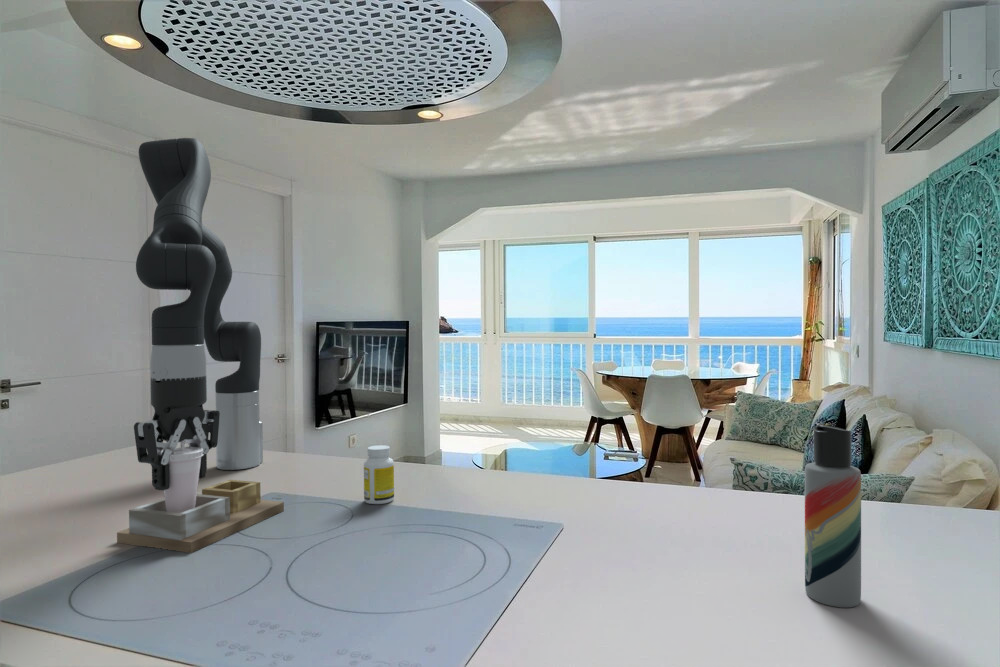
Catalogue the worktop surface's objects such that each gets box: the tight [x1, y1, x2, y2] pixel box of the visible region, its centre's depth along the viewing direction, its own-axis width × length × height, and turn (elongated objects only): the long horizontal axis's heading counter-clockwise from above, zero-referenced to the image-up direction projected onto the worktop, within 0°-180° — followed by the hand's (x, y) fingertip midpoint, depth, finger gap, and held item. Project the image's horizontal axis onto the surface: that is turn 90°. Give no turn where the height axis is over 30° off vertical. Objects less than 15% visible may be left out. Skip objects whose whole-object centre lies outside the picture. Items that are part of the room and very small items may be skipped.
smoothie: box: [160, 440, 204, 513], centre depth 91 cm, size 6×6×14 cm
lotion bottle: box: [804, 424, 862, 608], centre depth 69 cm, size 6×6×20 cm
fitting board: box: [116, 479, 285, 554], centre depth 95 cm, size 20×14×5 cm
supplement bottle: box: [363, 444, 395, 505], centre depth 108 cm, size 5×5×10 cm
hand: (180, 483), depth 91 cm, fingers closed on smoothie, 6 cm apart
